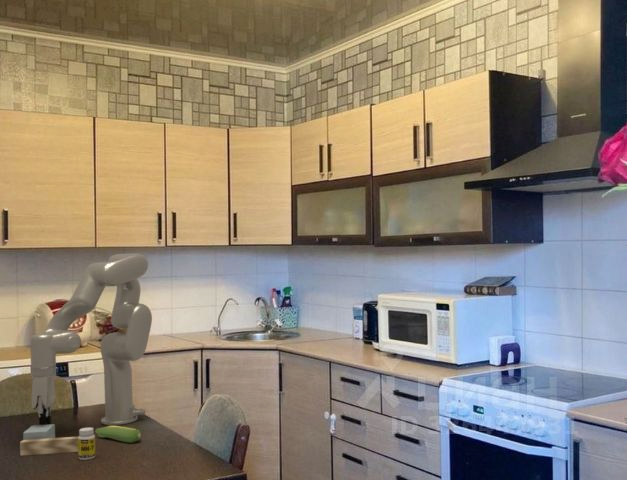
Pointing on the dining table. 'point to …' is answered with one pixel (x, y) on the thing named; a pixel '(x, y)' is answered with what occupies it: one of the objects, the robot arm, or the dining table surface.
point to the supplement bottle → (86, 444)
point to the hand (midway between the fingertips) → (45, 428)
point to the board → (49, 446)
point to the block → (39, 432)
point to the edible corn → (120, 433)
